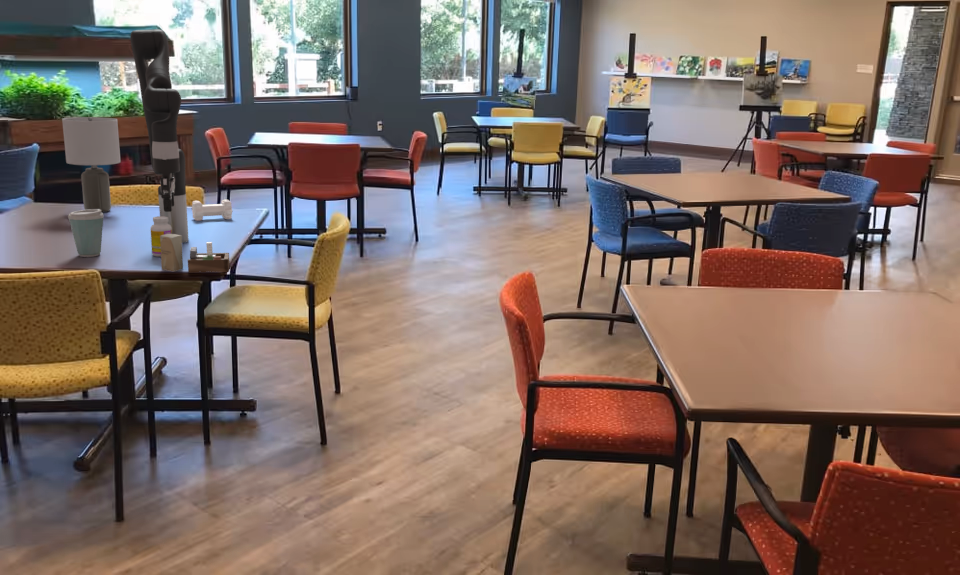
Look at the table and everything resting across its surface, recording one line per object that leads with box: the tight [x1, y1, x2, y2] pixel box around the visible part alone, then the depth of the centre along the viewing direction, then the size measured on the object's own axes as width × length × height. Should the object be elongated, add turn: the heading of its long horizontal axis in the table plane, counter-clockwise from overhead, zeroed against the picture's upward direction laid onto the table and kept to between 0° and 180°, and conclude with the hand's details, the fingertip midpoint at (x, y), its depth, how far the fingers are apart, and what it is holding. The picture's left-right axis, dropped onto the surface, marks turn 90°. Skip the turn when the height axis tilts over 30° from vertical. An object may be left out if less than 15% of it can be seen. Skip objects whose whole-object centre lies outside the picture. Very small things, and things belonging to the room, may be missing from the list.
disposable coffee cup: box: [67, 209, 105, 258], centre depth 263 cm, size 11×11×15 cm
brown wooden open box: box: [187, 252, 230, 274], centre depth 254 cm, size 9×12×5 cm
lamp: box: [61, 116, 122, 214], centre depth 331 cm, size 20×20×39 cm
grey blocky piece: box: [189, 241, 216, 259], centre depth 253 cm, size 6×7×8 cm
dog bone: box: [191, 199, 234, 222], centre depth 330 cm, size 15×9×8 cm, turn 120°
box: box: [160, 234, 184, 272], centre depth 251 cm, size 5×4×11 cm
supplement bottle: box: [150, 215, 172, 258], centre depth 268 cm, size 7×7×13 cm
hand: (169, 208), depth 247 cm, fingers open, 8 cm apart
